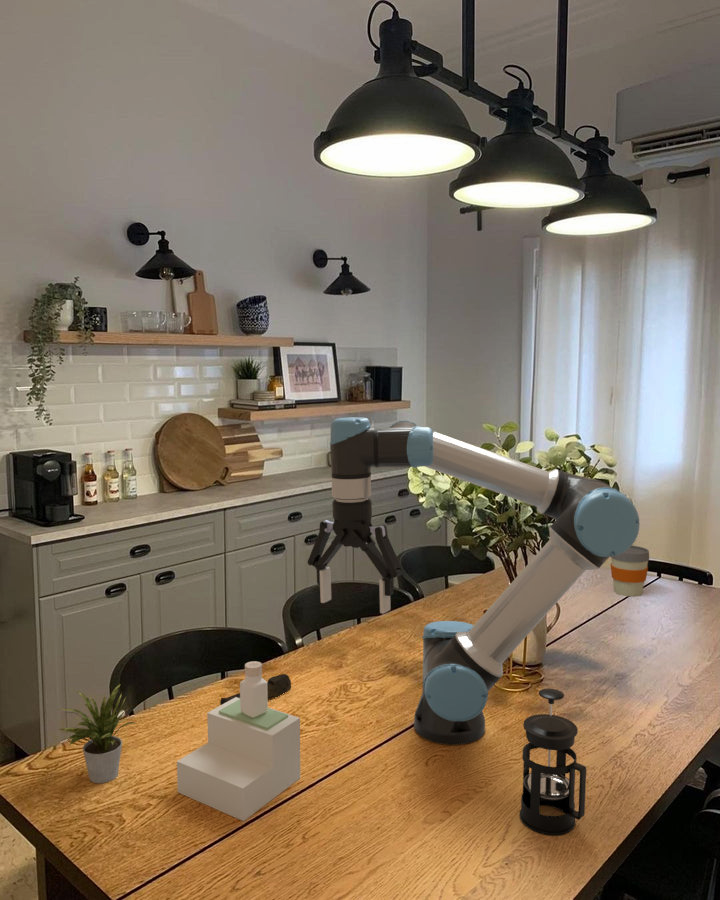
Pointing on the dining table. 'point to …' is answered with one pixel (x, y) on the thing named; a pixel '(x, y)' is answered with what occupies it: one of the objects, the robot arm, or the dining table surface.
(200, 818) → the dining table surface
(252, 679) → the white square bottle
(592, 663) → the dining table surface
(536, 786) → the french press
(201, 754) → the stepped riser
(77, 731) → the house plant
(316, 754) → the dining table surface
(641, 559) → the reusable coffee cup
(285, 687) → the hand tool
